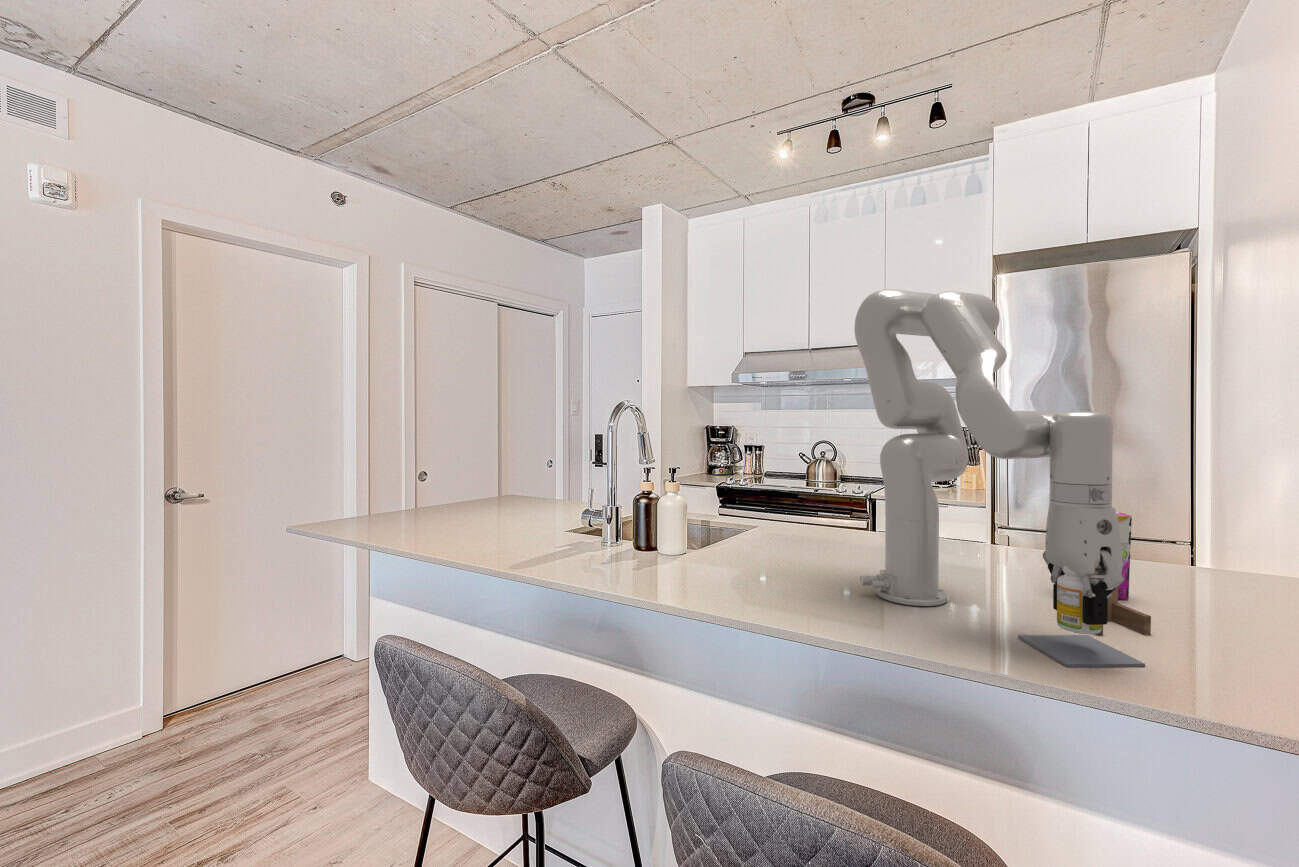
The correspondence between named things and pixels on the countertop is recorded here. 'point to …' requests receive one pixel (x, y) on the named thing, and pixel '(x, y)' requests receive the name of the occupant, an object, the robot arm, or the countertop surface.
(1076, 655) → the slate mat
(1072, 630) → the supplement bottle
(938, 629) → the countertop surface
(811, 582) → the countertop surface
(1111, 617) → the shelf slot
